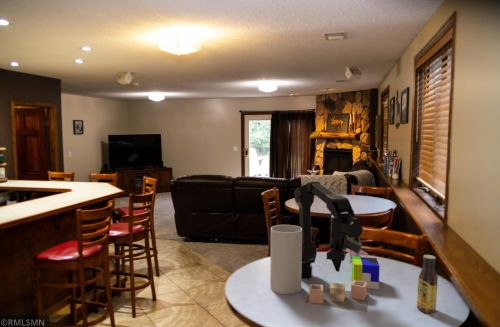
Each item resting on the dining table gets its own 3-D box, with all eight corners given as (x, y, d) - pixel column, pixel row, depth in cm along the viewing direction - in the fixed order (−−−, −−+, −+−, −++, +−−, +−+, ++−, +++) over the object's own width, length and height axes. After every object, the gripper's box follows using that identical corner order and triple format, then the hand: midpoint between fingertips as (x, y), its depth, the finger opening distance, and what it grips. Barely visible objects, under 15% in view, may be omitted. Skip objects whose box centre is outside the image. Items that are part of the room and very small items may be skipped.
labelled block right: (350, 297, 145) (351, 284, 145) (353, 292, 150) (354, 279, 149) (364, 300, 143) (364, 286, 143) (366, 295, 147) (367, 282, 147)
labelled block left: (309, 302, 141) (309, 288, 140) (309, 296, 146) (309, 283, 145) (322, 303, 140) (323, 289, 140) (322, 297, 145) (322, 284, 145)
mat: (305, 303, 141) (305, 302, 141) (312, 287, 156) (312, 286, 156) (366, 313, 133) (366, 311, 133) (368, 294, 148) (368, 293, 148)
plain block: (330, 300, 143) (330, 287, 142) (331, 295, 147) (332, 282, 147) (343, 302, 141) (343, 289, 141) (344, 296, 146) (345, 284, 145)
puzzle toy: (378, 290, 153) (379, 266, 152) (353, 288, 155) (353, 264, 154) (375, 280, 163) (376, 258, 162) (351, 278, 165) (352, 256, 164)
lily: (370, 267, 182) (372, 247, 185) (351, 260, 178) (353, 240, 181) (353, 267, 192) (355, 248, 196) (334, 261, 188) (337, 242, 192)
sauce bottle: (413, 306, 139) (415, 253, 137) (429, 305, 139) (431, 252, 138) (422, 314, 132) (425, 259, 131) (440, 314, 133) (442, 258, 131)
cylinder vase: (303, 285, 158) (304, 226, 156) (297, 297, 146) (298, 233, 144) (275, 281, 162) (275, 223, 160) (266, 292, 150) (266, 231, 148)
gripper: (359, 239, 131) (358, 283, 132) (362, 226, 149) (361, 265, 150) (326, 236, 135) (325, 279, 136) (333, 224, 152) (332, 262, 154)
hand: (337, 271), depth 144 cm, fingers closed
